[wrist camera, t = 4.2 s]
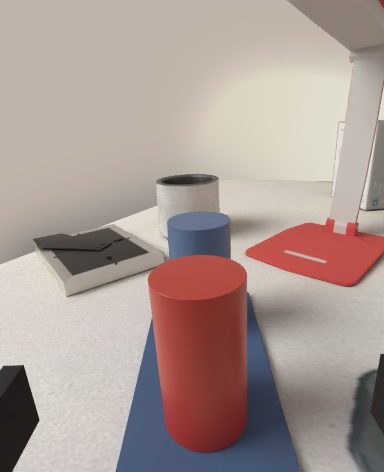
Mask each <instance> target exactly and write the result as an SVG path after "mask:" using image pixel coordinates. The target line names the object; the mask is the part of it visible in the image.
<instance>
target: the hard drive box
mask: <svg viewBox="0 0 384 472" xmlns="http://www.w3.org/2000/svg"><path fill="white" fill-rule="evenodd" d="M344 128H345V122H339V124H338V134H337V144H336V155H335V165H334V175H333V185H332V196H331V197H333V195H334V190H335V184H336V178H337V173H338V166H339V160H340V154H341V147H342V141H343V135H344ZM360 208H361V209H364V210H371V209H384V120H378V121H377V127H376V132H375V138H374V143H373V148H372V153H371V158H370V163H369V168H368V173H367V178H366V182H365V187H364V191H363V196H362V200H361V205H360Z"/></svg>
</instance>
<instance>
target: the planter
mask: <svg viewBox="0 0 384 472" xmlns="http://www.w3.org/2000/svg"><path fill="white" fill-rule="evenodd" d="M156 189H157V200H158V215H159V228H160V233H161V234H162V235H163V236H164V237H166V238H168V231H167V220H168V219H169V218H171V217H173V216H175V215H178V214H182V213H188V212H198V211H208V212H217V213H220V209H219V181H218V177H216V176H213V175H205V174H187V175H175V176H170V177H165V178H161V179H159V180H157V181H156Z"/></svg>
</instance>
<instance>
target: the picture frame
mask: <svg viewBox="0 0 384 472" xmlns="http://www.w3.org/2000/svg"><path fill="white" fill-rule="evenodd" d="M33 240H34V242H35V243H34V245H35V250H36V253H37V255H38V256H39V258H40V259H41V260H42V262H43V263H44V265H45V266H46V268H47V269H48V270H49V272H50V273H51V275H52V276H53V278H54V279H55V280H56V282H57V283H58V285H59V286H60V288H61V289H62V290H63V292H64V293H65V295H66V296H70V295H73V294H76V293H79V292H82V291H85V290H88V289H91V288H94V287H97V286H100V285H103V284H106V283H109V282H112V281H115V280H118V279H121V278H124V277H127V276H130V275H133V274H136V273H139V272H142V271H145V270H148V269H151V268H155V267H157V266H159V265H160V264H162V263H164V253H163V252H162V251H160V250H158V249H156V248H154V247H153V246H151V245H149V244H147V243H146V242H144V241H142V240H140V239H139V238H137V237H135V236H133V235H131V234H130V233H128V232H126V231H124V230H123V229H121V228H119V227H117V226H115V225H114V224H113V225H109V226H104V227H100V228H96V229H92V230H87V231H83V232H78V233H74V234H70V235H65V234H57V235H51V236H46V237H41V238H36V239H33Z"/></svg>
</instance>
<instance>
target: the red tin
mask: <svg viewBox="0 0 384 472" xmlns="http://www.w3.org/2000/svg"><path fill="white" fill-rule="evenodd" d="M148 285H149V294H150V302H151V310H152V319H153V327H154V336H155V344H156V353H157V361H158V369H159V378H160V386H161V395H162V403H163V411H164V420H165V425H166V428H167V431H168V432H169V434H170V436H171V437H172V438H173V439H174V440H175V441H176V442H177V443H178V444H180V445H181V446H182V447H184V448H186V449H189V450H192V451H196V452H204V453H206V452H215V451H219V450H222V449H224V448H226V447H228V446H230V445H231V444H233V443H234V442H235V441H236V440H237V439H238V438H239V437H240V436H241V434H242V433H243V431H244V429H245V426H246V423H247V273H246V271H245V269H244V268H243V267H242V266H241V265H240V264H239V263H237V262H235V261H233V260H231V259H228V258H224V257H219V256H212V255H192V256H185V257H180V258H176V259H172V260H169V261H167V262H164V263H162V264H160V265H159V266H157V267H156V268H155V269H154V270H152V272H151V273H150V275H149V277H148Z"/></svg>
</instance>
